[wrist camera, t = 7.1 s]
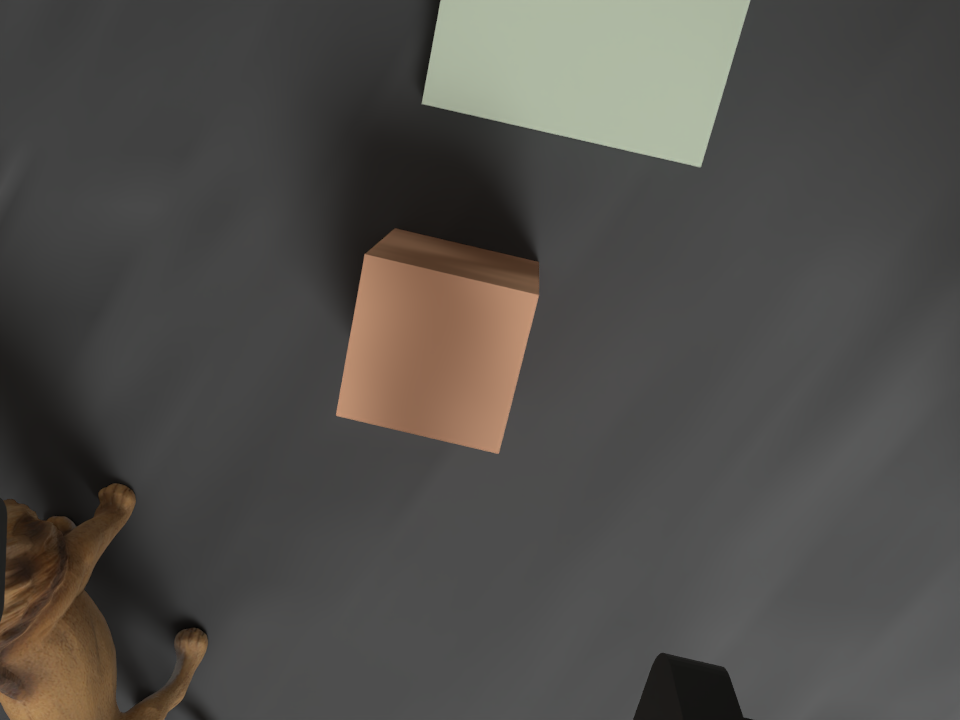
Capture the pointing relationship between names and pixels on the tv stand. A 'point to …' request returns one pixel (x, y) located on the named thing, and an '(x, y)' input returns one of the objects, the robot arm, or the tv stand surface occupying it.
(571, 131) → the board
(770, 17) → the tv stand surface
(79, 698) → the lion figurine
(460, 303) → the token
